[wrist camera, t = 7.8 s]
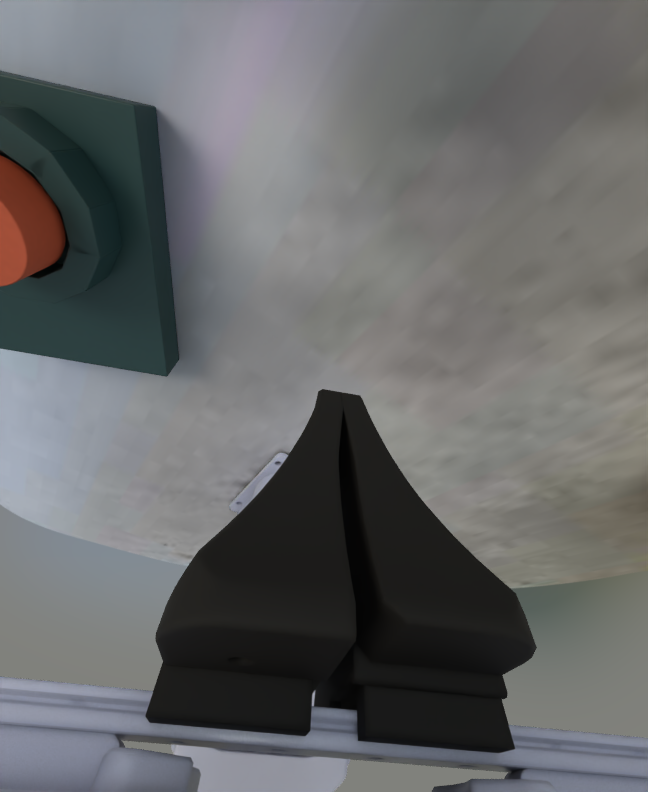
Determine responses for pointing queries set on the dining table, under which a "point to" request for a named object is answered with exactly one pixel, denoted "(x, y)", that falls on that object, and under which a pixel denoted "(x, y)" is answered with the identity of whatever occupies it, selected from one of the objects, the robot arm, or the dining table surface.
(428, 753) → the robot arm
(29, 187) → the push button
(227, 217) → the dining table surface
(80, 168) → the green button base
